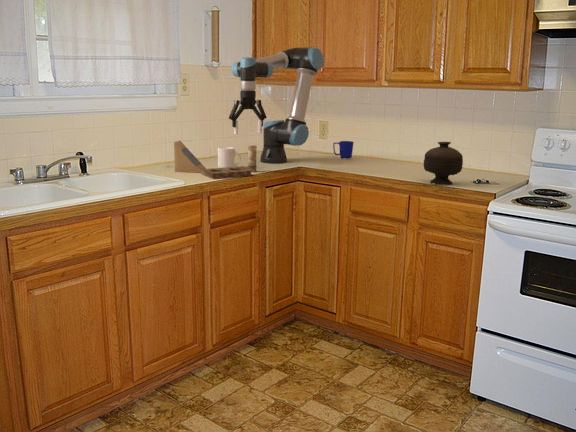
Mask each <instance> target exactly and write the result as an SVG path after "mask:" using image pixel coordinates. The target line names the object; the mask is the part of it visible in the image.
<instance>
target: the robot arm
mask: <svg viewBox="0 0 576 432" xmlns="http://www.w3.org/2000/svg"><path fill="white" fill-rule="evenodd" d="M324 63H325V59H324V55H323V52H322V51H321V49H320V48H318V47H314V46H313V47H312V46H309V47H308V46H307V47H306V46H305V47H298V46H297V47H291V48H287V49H285V50H282V51H278V52H277V53H276V54H273V55H267V56H263V57H258V58H256V57H248V56H247V57H241V58H240V61H236V62H233V64H232V65H231V73H232V75H233V76H234V77H235V78H236V77H238V78H240V79H239V80H240V82H239V83H240V92H239V93H240V96H239V97H240V100H238V99H235V100H234V104H233V107H232V109H231V111H230V114H229V116H228V119H229V120H231V121H232V122H231V123H232V125H231V126H232V128H233V134H234V135H239V133H238V132H239V131H238V130H239V122H238V121H239V120H238V118H239V117H240V116H241V114H242V113H243V111H245V110H252V111H253V113H254V114H255V116H256V117H257V118H258V119H257V133H258V134H262V133H263V148H262V151H261V153H260V157H259V159H260V160H259V161H260V162H261V163H264V164H266V163H267V164H284V163H287V161H288V158H287V154H286V151H285V150H286V149H285V145H288V146H294V147H299V146H303V145H304V144H305V143H306V142H307V141H308V138H309V135H310V134H309V133H310V131H309V127H308V126H307V122H306V120H305V117H306V113H307V108H308V103H309V99H310V95H311V91H312V89H311V88H312V84H313V80H314V77H315V76H317V75H318V71H320V70H321V69H322V68H323V67H324ZM277 69H279V70H286V69H290V70H295V71H296V73H297V76H296V80H295V85H294V91H293V96H292V101H291V105H290V109H289V115H288V116H287V117H286V118H285V120H284V119H282V120H281V119H279V120H268V121H267V120H266V121H264V120H265V119H267V118H268V117H267V115H266V112H265V110H264V107H263V105H262V100H261V99H256V96H257V94H256V92H257V91H256V89H257V83H256V82H257V79H256V78H258V79H260V78H261V79H266V78H271V77H272V75H273V74H274V70H277ZM262 128H263V132H262Z"/></svg>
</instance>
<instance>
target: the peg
mask: <svg viewBox="0 0 576 432" xmlns="http://www.w3.org/2000/svg"><path fill="white" fill-rule="evenodd" d="M257 156H258V155H257V145H247V170H250V171H251V173H257Z"/></svg>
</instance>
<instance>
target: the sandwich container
mask: <svg viewBox="0 0 576 432" xmlns="http://www.w3.org/2000/svg"><path fill="white" fill-rule="evenodd" d="M173 151H174V152H173V155H174V158H173V159H174V173H185V174H186V173H187V174H188V173H189V174H201V169H207V167H206V166H205V165H204V164H202V162H201V161H200V160H199V159H198V158H197V157H196V156H195V155H194V154H193V152H191V151H190V150H189V148H188V147H187V146H186V145H185V144H184V143H183V141H181V140H176V141H174V142H173Z"/></svg>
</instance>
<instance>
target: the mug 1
mask: <svg viewBox="0 0 576 432" xmlns="http://www.w3.org/2000/svg"><path fill="white" fill-rule="evenodd" d="M235 155H236V156H238V157H239V161H238V162H236V161H235V160H236V159H235ZM241 160H242V159H241V155H240V153H239V152H238V151H236V150H235V147H230V146H219V147H217V168H226V167H239V166H240V164H241V162H242V161H241Z"/></svg>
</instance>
